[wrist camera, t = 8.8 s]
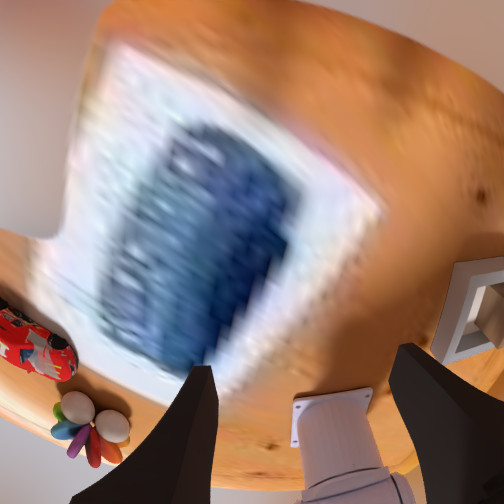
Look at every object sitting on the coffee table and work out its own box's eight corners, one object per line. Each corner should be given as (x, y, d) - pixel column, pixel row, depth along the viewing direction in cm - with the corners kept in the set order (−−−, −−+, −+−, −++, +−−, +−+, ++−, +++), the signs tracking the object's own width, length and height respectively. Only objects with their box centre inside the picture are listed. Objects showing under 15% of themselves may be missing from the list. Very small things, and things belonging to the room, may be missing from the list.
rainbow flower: (124, 442, 29) (111, 486, 23) (58, 407, 27) (38, 448, 21) (142, 417, 27) (128, 471, 20) (64, 375, 25) (38, 424, 18)
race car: (84, 346, 23) (67, 374, 19) (78, 377, 25) (65, 403, 21) (-14, 281, 20) (-36, 300, 17) (-12, 317, 22) (-30, 337, 18)
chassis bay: (514, 323, 24) (525, 334, 21) (430, 349, 24) (441, 366, 21) (537, 251, 20) (551, 260, 18) (454, 262, 20) (471, 276, 18)
